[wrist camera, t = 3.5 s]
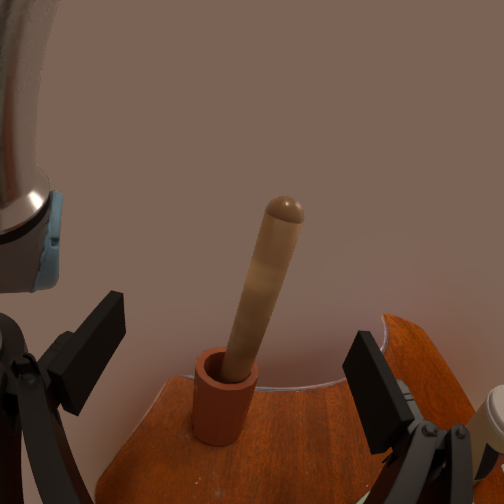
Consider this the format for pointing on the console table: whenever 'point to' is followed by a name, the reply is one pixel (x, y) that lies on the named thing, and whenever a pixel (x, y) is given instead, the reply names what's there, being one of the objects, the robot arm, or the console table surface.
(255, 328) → the stick
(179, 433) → the console table surface
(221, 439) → the crock
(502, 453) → the coffee cup
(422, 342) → the console table surface
